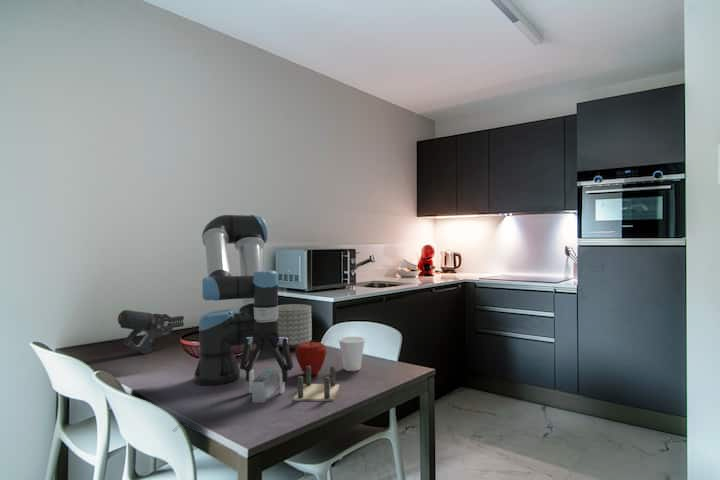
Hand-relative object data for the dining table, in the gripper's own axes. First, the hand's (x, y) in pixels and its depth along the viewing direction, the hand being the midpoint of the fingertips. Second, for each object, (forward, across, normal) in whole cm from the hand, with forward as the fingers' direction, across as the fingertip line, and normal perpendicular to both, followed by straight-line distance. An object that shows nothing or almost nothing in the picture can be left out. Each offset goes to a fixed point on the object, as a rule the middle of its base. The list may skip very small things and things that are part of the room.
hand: (267, 391), depth 129 cm
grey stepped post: (0, 0, 0) cm, 0 cm away
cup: (+1, +24, +26) cm, 35 cm away
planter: (+1, -8, +59) cm, 60 cm away
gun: (+1, -68, +48) cm, 83 cm away
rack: (0, +16, 0) cm, 16 cm away
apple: (+1, +10, +19) cm, 21 cm away
